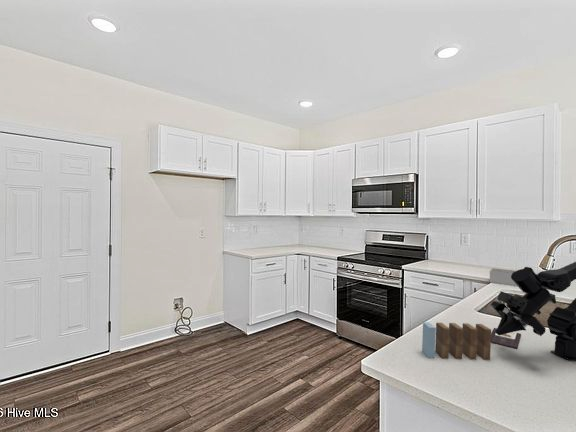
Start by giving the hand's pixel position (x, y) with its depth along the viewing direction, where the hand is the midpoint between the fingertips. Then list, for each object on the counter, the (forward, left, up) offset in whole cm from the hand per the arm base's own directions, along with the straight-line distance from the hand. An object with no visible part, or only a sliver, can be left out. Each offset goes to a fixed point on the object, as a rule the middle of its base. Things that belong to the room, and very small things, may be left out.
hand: (497, 333), depth 103 cm
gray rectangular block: (-107, -100, -8) cm, 147 cm away
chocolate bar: (-16, -14, -8) cm, 23 cm away
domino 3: (+13, -2, -8) cm, 16 cm away
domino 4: (+9, -2, -8) cm, 12 cm away
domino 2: (+18, -3, -8) cm, 20 cm away
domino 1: (+22, -4, -8) cm, 24 cm away
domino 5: (+5, -1, -8) cm, 9 cm away
